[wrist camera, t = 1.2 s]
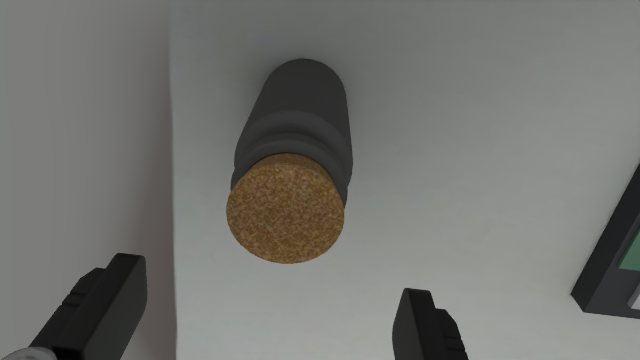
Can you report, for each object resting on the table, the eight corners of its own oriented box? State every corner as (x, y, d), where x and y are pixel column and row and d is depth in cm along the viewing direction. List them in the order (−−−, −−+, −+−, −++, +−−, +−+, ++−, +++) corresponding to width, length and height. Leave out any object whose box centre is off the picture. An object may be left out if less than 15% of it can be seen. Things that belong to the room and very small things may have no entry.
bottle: (361, 113, 31) (385, 238, 18) (292, 153, 33) (267, 294, 19) (317, 40, 29) (306, 122, 16) (245, 86, 30) (180, 196, 17)
